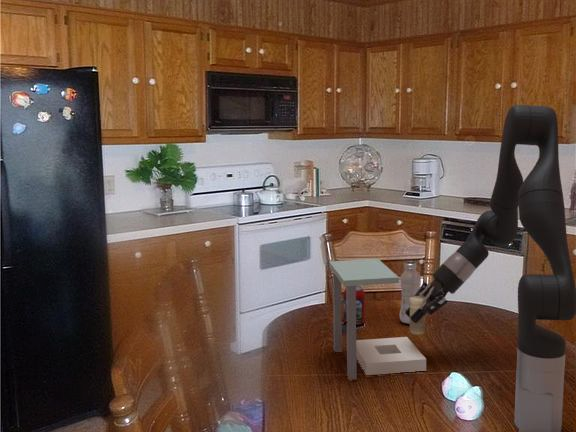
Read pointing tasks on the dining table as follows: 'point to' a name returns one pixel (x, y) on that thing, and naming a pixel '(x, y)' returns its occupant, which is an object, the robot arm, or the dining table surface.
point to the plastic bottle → (408, 288)
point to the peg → (414, 306)
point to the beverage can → (357, 304)
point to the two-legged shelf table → (354, 299)
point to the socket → (389, 356)
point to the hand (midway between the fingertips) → (410, 317)
